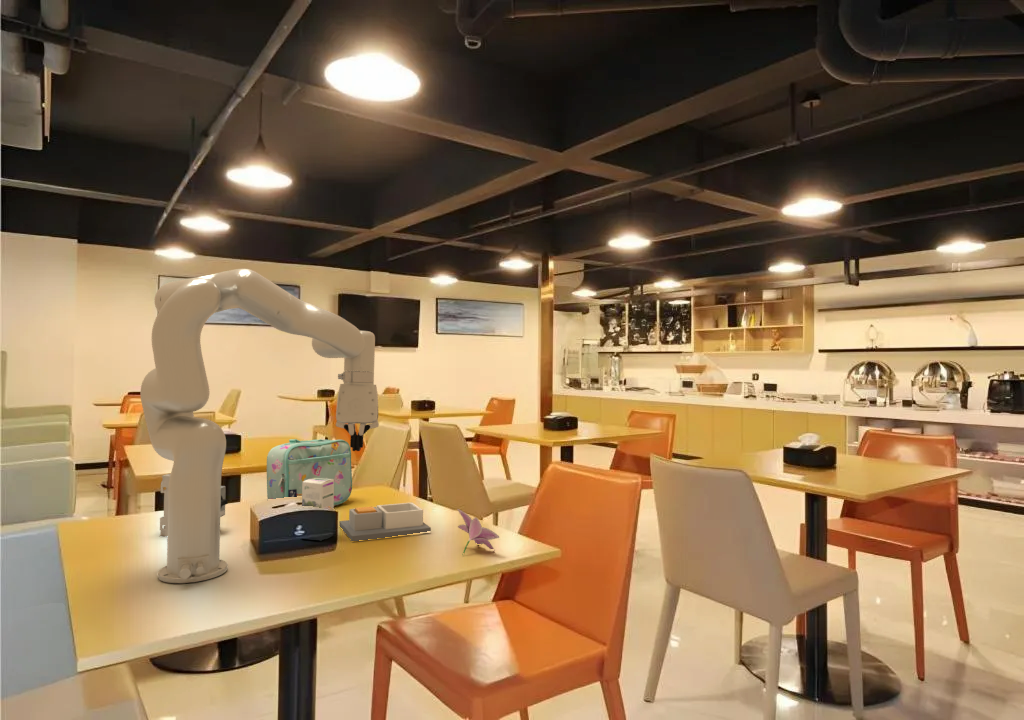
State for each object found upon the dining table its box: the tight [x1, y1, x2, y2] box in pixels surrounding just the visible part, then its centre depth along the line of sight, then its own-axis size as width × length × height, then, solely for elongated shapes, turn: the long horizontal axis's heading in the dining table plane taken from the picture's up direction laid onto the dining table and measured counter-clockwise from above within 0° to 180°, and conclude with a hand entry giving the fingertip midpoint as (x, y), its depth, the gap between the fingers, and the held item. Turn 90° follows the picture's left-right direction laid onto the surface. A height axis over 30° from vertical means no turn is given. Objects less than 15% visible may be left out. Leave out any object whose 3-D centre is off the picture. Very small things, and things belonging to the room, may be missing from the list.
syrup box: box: [302, 478, 335, 510], centre depth 153 cm, size 6×6×14 cm
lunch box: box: [266, 438, 353, 507], centre depth 184 cm, size 27×10×21 cm, turn 150°
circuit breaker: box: [159, 473, 229, 537], centre depth 156 cm, size 8×14×15 cm, turn 89°
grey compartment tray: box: [338, 502, 432, 542], centre depth 161 cm, size 16×20×6 cm
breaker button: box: [354, 506, 376, 514], centre depth 159 cm, size 4×4×4 cm
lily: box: [457, 508, 500, 554], centre depth 142 cm, size 12×12×10 cm
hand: (356, 450), depth 158 cm, fingers closed
